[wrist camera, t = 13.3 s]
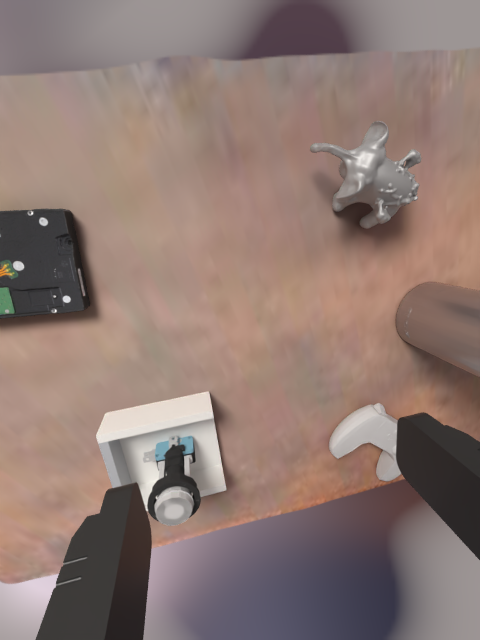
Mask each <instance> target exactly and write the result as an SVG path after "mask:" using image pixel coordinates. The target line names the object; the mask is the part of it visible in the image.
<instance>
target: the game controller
mask: <svg viewBox="0 0 480 640" xmlns="http://www.w3.org/2000/svg"><path fill="white" fill-rule="evenodd" d="M397 422H398V420H396V419H395V418H393V417H391V416H389V415H388V414H386V412H385V409H384V406H383V405H381V404H380V403H377V404H375V405H372V404H371V405H368V406H365V407H362V408H360V409H357V410H356V411H354V412H353V413H351V414H350V415H348V416H347V417H346V418H345V419H344V420H343V421H342V422H341V423H340V424H339V425H338V426H337V427H336V429H335V430H334V432H333V434H332V436H331V438H330V441H329V449H330V451H331V453H332V454H333V455H334V456H335V457H336V458H337V459H338V458H340V457H342V456H344V455H346V454H348V453H349V452H351V451H353V450H354V449H356V448H357V447H358V446H360V445H361V444H364V443H369V442H370V443H372V444H374V445H376V446H377V447H379V448H381V449H383V451H382V453H381V455H380V457H379V460H378V463H377V468H376V474H377V477H378V478H379V479H380V480H383V481H390V480H393V479H395V478H396V477H398V476H399V475H401V474H402V473H401V472H400V470H399V467H398V465H397V461H396V441H397Z"/></svg>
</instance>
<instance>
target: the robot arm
mask: <svg viewBox="0 0 480 640" xmlns="http://www.w3.org/2000/svg"><path fill="white" fill-rule="evenodd" d="M396 327H397V331H398V333H399V335H400V337H401V338H402V339H403V340H404V341H406V342H407V343H409V344H411V345H413V346H415V347H417V348H420V349H422V350H424V351H426V352H428V353H430V354H432V355H434V356H436V357H438V358H440V359H442V360H444V361H446V362H448V363H450V364H453V365H455V366H457V367H459V368H461V369H463V370H465V371H467V372H469V373H471V374H473V375H475V376H477V377H480V291H478V290H473V289H468V288H463V287H458V286H453V285H448V284H443V283H437V282H427V283H423V284H421V285H418V286H417V287H415V288H413V289H412V290H411V291H410V292H409V293H408V294H407V295H406V296H405V297H404V299H403V300H402V302H401V304H400V306H399V308H398V311H397V316H396ZM396 461H397V465H398V467H399V470H400V472H401V473H402V475H403V477H404V478H405V479H406V480H407V481H408V482H409V483H410V485H411V486H412V487H413V488H414V489H415V490H416V491H417V492H418V493H419V494H420V496H421V497H422V498H423V499H424V500H425V501H426V502H427V503H428V504H429V505H430V506H431V508H432V509H433V510H434V511H435V512H436V513H437V514H438V515H439V516H440V517H441V518H442V520H443V521H444V522H445V523H446V524H447V525H448V526H449V527H450V528H451V529H452V530H453V531H454V533H455V534H456V535H457V536H458V537H459V538H460V539H461V540H462V541H463V542H464V544H465V545H466V546H467V547H468V548H469V549H470V550H471V551H472V552H473V553H474V554H475V556H476V557H477V558H478V559H479V560H480V442H478V441H477V440H475V439H474V438H472V437H471V436H470V435H468V434H466V433H464V432H461V431H459V430H457V429H455V428H452V427H450V426H448V425H445V426H444V425H443V424H441V423H440V422H438V421H437V420H436V419H434V418H433V417H432V416H430V415H429V414H427V413H418V414H414V415H410V416H406V417H402V418H400V419H399V420H398V422H397V441H396ZM151 545H152V540H151V528H150V522H149V519H148V515H147V512H146V508H145V505H144V502H143V498H142V495H141V491H140V488H139V485H138V483H136V482H135V483H131V484H127V485H123V486H119V487H115V488H111V489H108V490H107V491H106V494H105V497H104V500H103V504H102V507H101V511H100V513H99V514H95V515H92V516H88V517H87V518H86V519H85V520H84V522H83V523H82V525H81V526H80V527H79V529H78V530H77V532H76V533H75V534H74V536H73V537H72V539H71V542H70V545H69V547H68V550H67V553H66V556H65V559H64V562H63V563H64V565H63V567H61V570H60V573H59V576H58V578H57V581H56V588H54V590H53V592H52V595H51V598H50V601H49V604H48V606H47V610H46V612H45V615H44V618H43V621H42V623H41V626H40V629H39V632H38V635H37V637H36V640H143V635H144V624H145V613H146V602H147V591H148V580H149V569H150V558H151Z"/></svg>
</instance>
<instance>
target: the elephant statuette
mask: <svg viewBox="0 0 480 640" xmlns="http://www.w3.org/2000/svg"><path fill="white" fill-rule="evenodd" d="M388 135H389V131H388V127H387V125H386V124H385V123H384V122H382V121H376V122H373V123H372V124H371V126H370V128H369V130H368V131H367V133H366V135H365V137H364V139H363V142H362V144H361V146H359V147H358V148H356V149H353V150H345V149H343V148H341V147H339V146H336V145H332V144H329V143H314V144H312V145H311V147H310V151H311V152H313V153H316V152H319V151H323V152H329V153H331V154H333V155H335V156H337V157H339V158H340V159H341V160H342V161H341V163H340V166H339V172H340V175H341V177H342V178H343V179H344V182H343V184H342V186H341V187H340V189H339V191H338V192H337V193H335V194H334V196H333V205H332V207H333V210H334V211H337V212H338V211H341V210H343V209H344V208H345V207H346V206H348V205H350V204H353V203H357V202H363V203H367V204H369V205H370V206H371V207H372V208H373V210H372V211H371V212H370V213H369V214H367V215H365V216H363V217H362V218H361V220H360V226H361V227H363V228H371V227H373V226H374V225H376V224H378V223H386V222H387V221H389V220H390V219H391V217H392V216H393V215H394V214H395V213H396V212H397V211H398V209H399V208H400V207H401V206H405V205H406V204H409V203H410V202H411V201H413V200H414V201H416V200H417V199H418V196H416V195H417V190H418V187H419V183H416V181H415V180H414V177H415V175H412V174H411V173H410V172H409V171H408V168H410V167H412V166H414V165H415V164H418V163H420V162H421V157H420V156H421V155H420V153H419V152H417V151H416V150H415V149H412V150H410V151H409V153H408V154H407V156H406V157H404V158H403V159H401V160H400V161H396V162H394V161H392V160H390V159H389V158H387V157H386V150H385V147H384V145H385V143H386V142H387V139H388ZM406 160H407V161H406ZM405 161H406V165H405V166H403V165H404V162H405Z"/></svg>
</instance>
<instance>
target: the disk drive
mask: <svg viewBox="0 0 480 640" xmlns="http://www.w3.org/2000/svg"><path fill="white" fill-rule="evenodd" d="M88 306H90V302H89V297H88V293H87V287H86V282H85V277H84V272H83V267H82V262H81V257H80V252H79V247H78V242H77V237H76V232H75V229H74V224H73V218H72V213H71V211H69V210H66V209H34V210H14V211H0V318H11V317H20V316H32V315H42V314H52V313H68V312H74V311H83V310H85V309H86V308H87V307H88Z"/></svg>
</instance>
